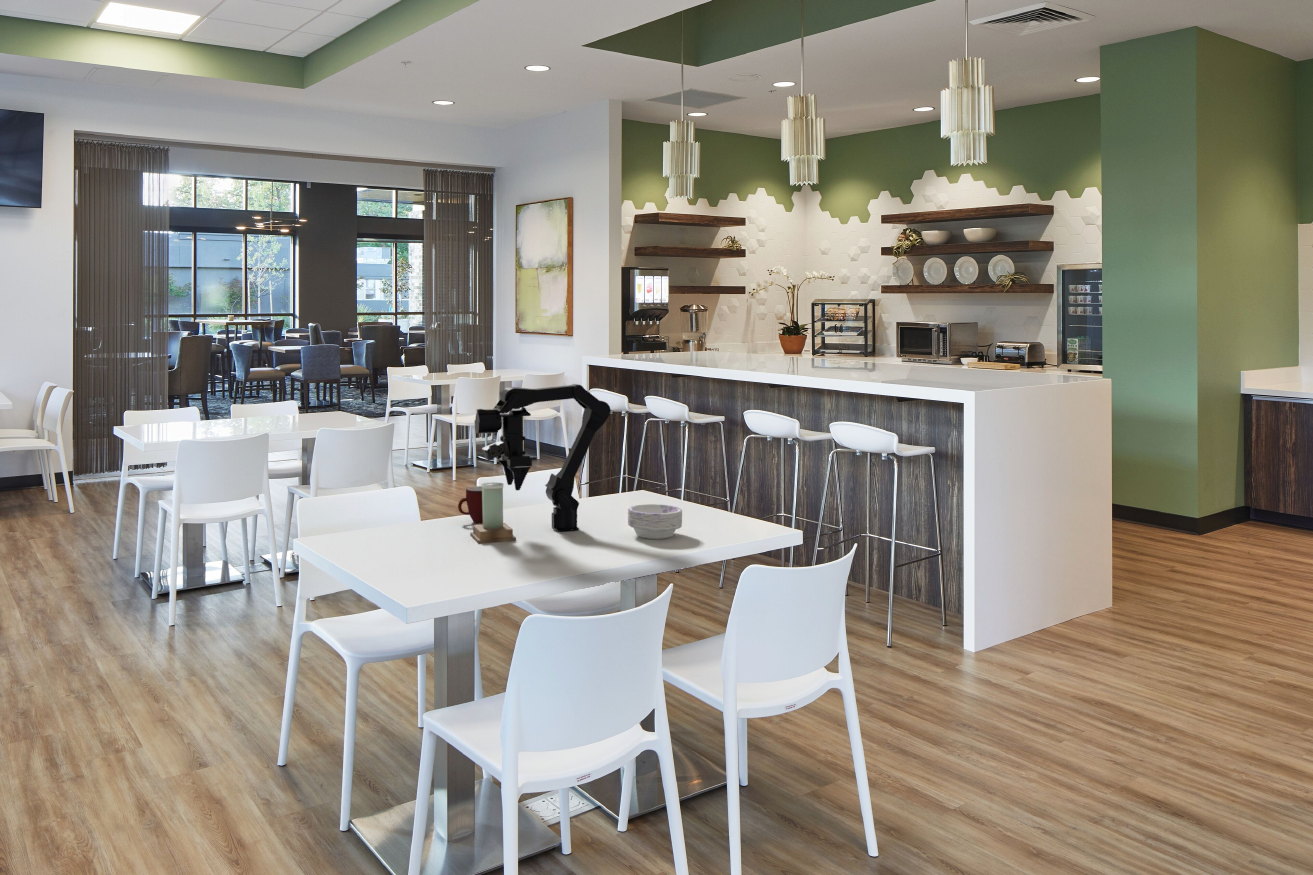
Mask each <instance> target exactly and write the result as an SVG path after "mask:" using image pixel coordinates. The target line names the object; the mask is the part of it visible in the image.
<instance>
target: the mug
mask: <svg viewBox="0 0 1313 875" xmlns="http://www.w3.org/2000/svg"><path fill="white" fill-rule="evenodd" d="M465 502H466V505H467V511H463V509H462V506H463V503H465ZM457 509H458V512H459V513H461V514H462V515H465V516H470V518H471V520H472V522H473V523H477V524H483V510H482V488H481V485H480V486H478V485H477V486H470V487H467V488H466V489H465V497H464V498H463V497H462V498H461V499H460V500H459V502H458V504H457Z"/></svg>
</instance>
